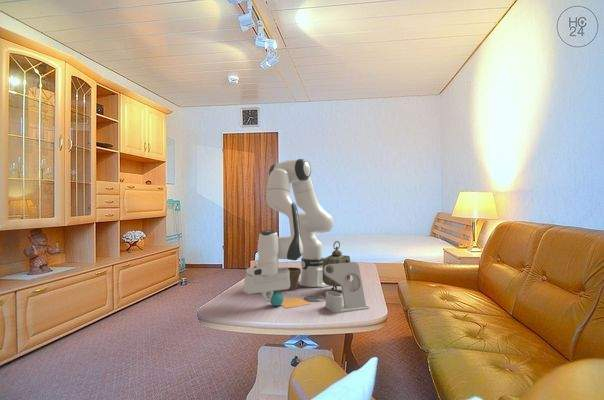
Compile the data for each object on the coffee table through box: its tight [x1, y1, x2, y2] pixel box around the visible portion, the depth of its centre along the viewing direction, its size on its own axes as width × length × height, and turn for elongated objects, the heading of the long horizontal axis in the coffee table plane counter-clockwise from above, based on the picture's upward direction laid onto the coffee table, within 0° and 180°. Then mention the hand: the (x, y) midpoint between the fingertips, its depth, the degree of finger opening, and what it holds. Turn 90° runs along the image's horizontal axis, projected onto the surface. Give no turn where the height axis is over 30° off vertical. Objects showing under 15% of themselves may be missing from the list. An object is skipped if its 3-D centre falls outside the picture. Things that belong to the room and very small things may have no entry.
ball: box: [269, 290, 284, 307], centre depth 142 cm, size 6×6×6 cm
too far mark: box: [303, 294, 326, 303], centre depth 152 cm, size 10×10×1 cm
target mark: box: [280, 296, 311, 309], centre depth 146 cm, size 12×12×1 cm
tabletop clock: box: [322, 240, 351, 293], centre depth 165 cm, size 14×9×25 cm, turn 148°
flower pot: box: [285, 266, 302, 291], centre depth 171 cm, size 12×11×10 cm
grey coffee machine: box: [324, 261, 371, 314], centre depth 139 cm, size 17×10×18 cm, turn 110°
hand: (267, 301), depth 140 cm, fingers closed
